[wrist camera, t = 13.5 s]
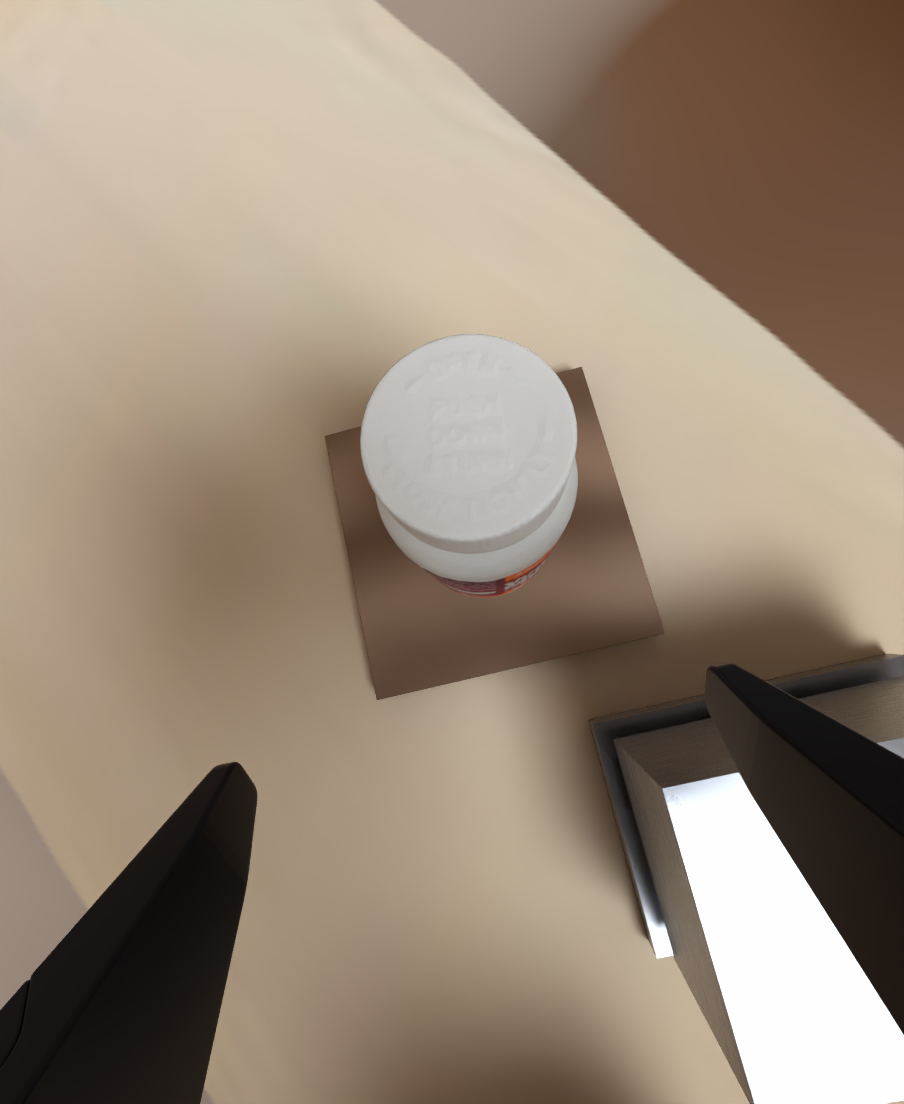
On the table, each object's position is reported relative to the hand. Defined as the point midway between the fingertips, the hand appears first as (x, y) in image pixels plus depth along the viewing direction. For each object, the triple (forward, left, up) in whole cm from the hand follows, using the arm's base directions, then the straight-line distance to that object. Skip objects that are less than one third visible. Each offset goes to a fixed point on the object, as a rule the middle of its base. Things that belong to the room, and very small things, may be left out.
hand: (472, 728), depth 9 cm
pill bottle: (+6, -1, -12) cm, 14 cm away
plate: (+6, -1, -13) cm, 15 cm away
